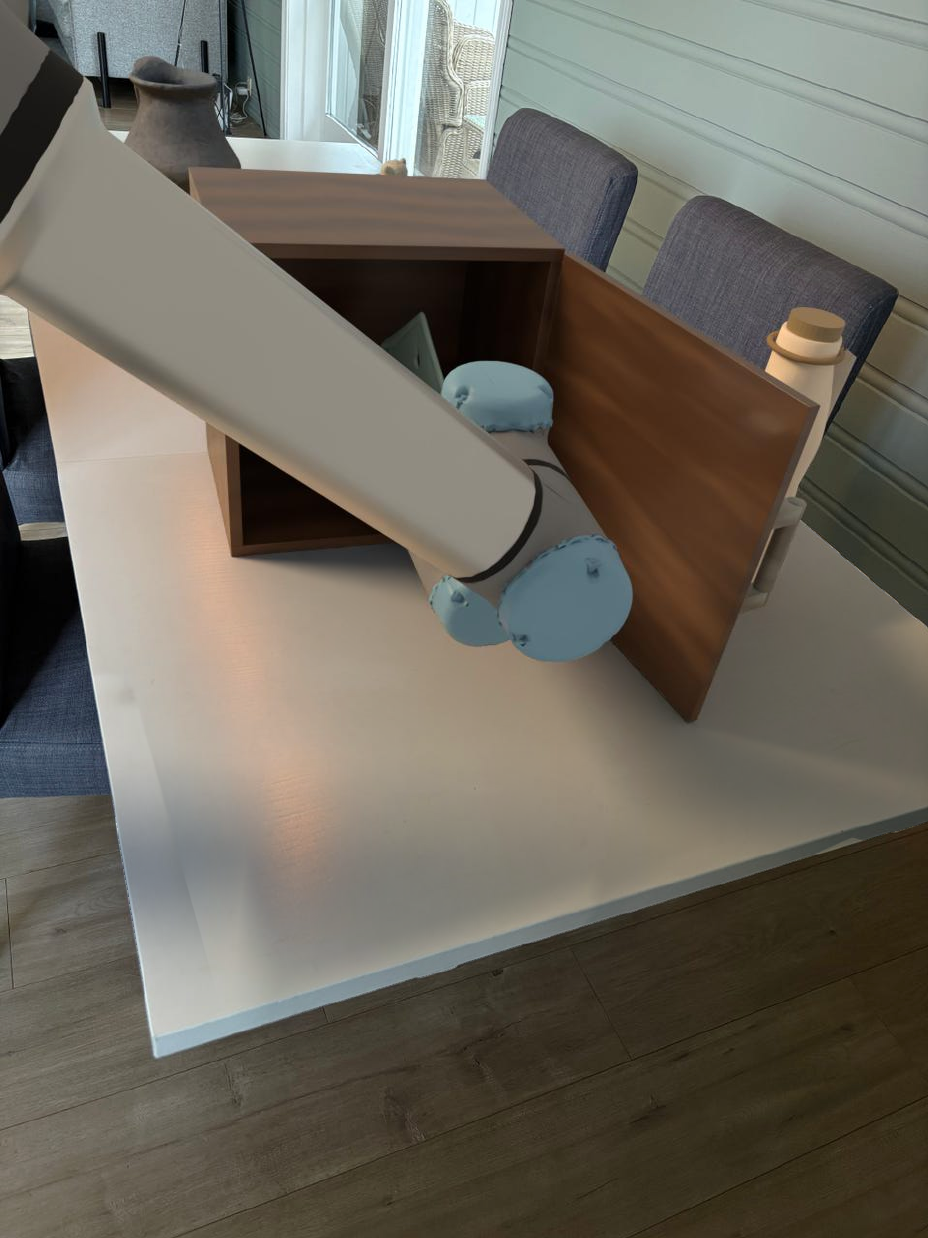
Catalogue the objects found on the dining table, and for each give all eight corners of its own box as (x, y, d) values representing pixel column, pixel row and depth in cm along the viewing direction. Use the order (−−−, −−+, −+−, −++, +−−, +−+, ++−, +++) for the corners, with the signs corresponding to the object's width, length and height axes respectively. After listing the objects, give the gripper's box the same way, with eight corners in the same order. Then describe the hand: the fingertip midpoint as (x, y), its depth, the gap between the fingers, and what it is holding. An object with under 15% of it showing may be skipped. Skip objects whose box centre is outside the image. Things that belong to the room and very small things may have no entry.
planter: (314, 465, 100) (315, 284, 87) (382, 456, 103) (392, 280, 90) (366, 548, 89) (376, 354, 76) (441, 535, 92) (462, 347, 79)
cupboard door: (564, 524, 102) (625, 250, 83) (746, 702, 83) (879, 395, 64) (512, 535, 99) (564, 253, 81) (688, 722, 80) (810, 407, 61)
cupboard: (514, 532, 100) (565, 248, 81) (231, 556, 91) (214, 242, 72) (453, 435, 116) (485, 178, 97) (207, 447, 106) (188, 166, 87)
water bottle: (724, 532, 105) (810, 291, 88) (789, 572, 100) (894, 325, 83) (667, 558, 100) (747, 306, 82) (733, 602, 95) (833, 343, 77)
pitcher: (168, 245, 157) (154, 80, 142) (100, 209, 168) (80, 52, 152) (264, 229, 170) (261, 76, 154) (196, 197, 180) (187, 50, 165)
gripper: (307, 548, 75) (266, 419, 91) (542, 529, 81) (464, 411, 98) (309, 469, 70) (264, 347, 87) (557, 455, 77) (473, 344, 93)
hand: (370, 381), depth 92 cm, fingers closed on planter, 8 cm apart
